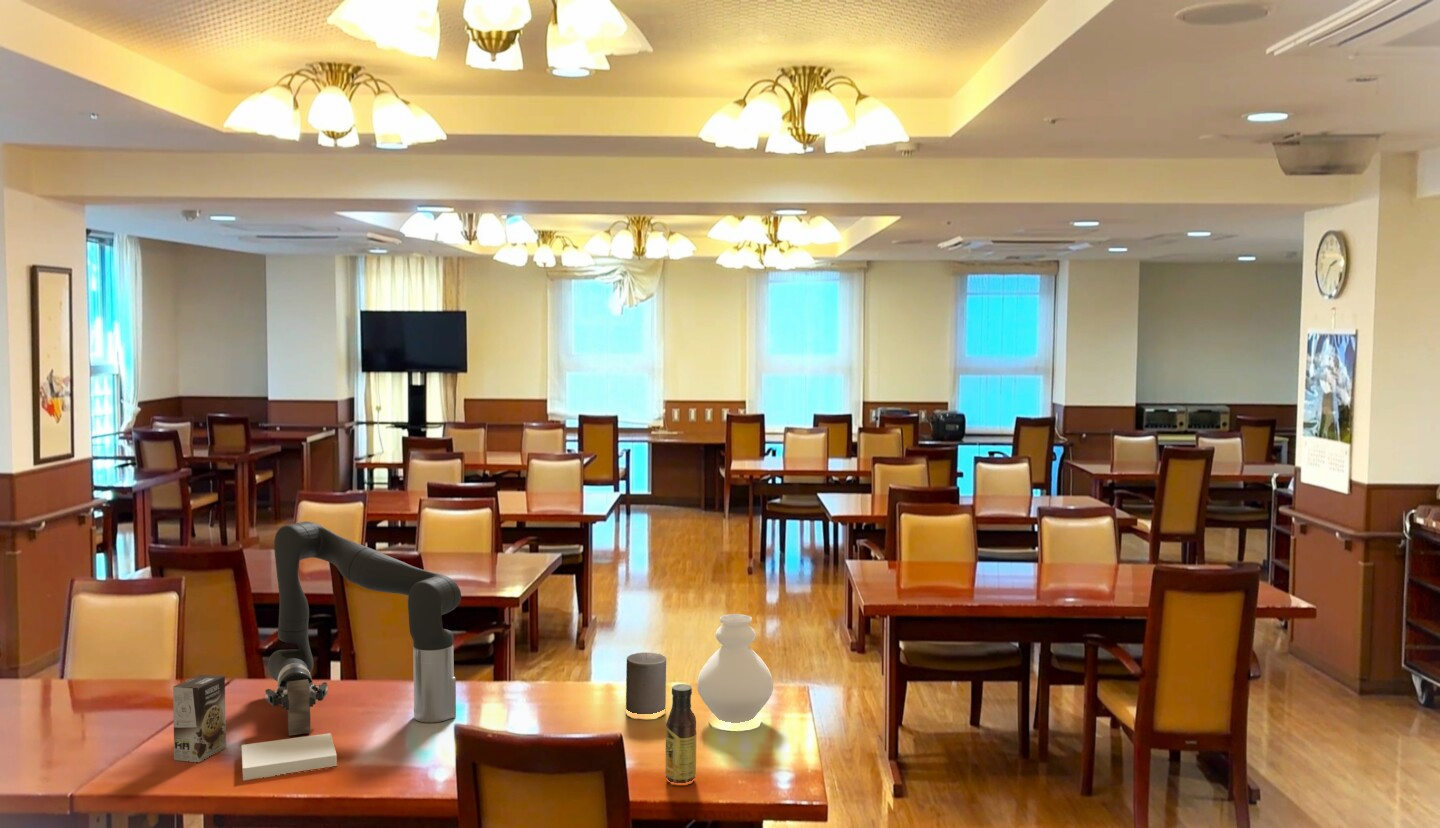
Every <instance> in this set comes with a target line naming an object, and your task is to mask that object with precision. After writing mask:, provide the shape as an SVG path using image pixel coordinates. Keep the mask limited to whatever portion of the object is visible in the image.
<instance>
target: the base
mask: <svg viewBox="0 0 1440 828" xmlns="http://www.w3.org/2000/svg"><path fill="white" fill-rule="evenodd" d="M337 757H338V755H337V751H336V748H335V745H334V739H333V737H332V733H331V732H329V733H322V734H314V735H307V736H306V735H305V736H299V737H292V738H285V739H284V738H283V739H276V740H269V741H260V742H253V743H248V744H241V765H242V766H241V767H242V781H249V780H256V779H262V778H263V777H264V778H270V777H276V776H275V775H277V776H281V775H280V774H284V775H287V774H286V773H291V772H298V771H303V770H310V769H317V768H324V767H332V766H337V767H338V762H337V761H338V760H337V759H338V758H337ZM332 768H333V767H332ZM298 773H299V772H298ZM291 774H292V773H291Z"/></svg>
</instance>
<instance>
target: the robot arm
mask: <svg viewBox="0 0 1440 828" xmlns="http://www.w3.org/2000/svg"><path fill="white" fill-rule="evenodd" d="M273 543H274V545H273V546H274V547H273V548H274V551H273V552H274V560H275V567H276V568H275V569H276V578H277V586H278V594H279V596H278V597H279V599H278V600H279V606H278V607H279V608H278V609H279V610H278V627H277V637H278V639H279V640H280V641H281V642H283V643H288V644H293V645H296V646H297V647H298V648H297V649H296V648H295V649H294V648H293V649H279V650H276V651H274V652H273V653H272V654H271V655H270V656H269V659H268V662H267V669H268V671H269V672H268V673H269V674H270V676H271V678H272V679H273V680H275V681H276V682H277V690H275V689H271V688H267V689H265V690H264V691H265V702H267V703H268V704H270V705H271V706H272V707H278V706H279V705H281V706H280V707H281V708H282V709H285V711H288V710H289V700H288V696H287V682H289V681H298V680H306V679H308V681H309V685H310V708H313V707H314V705H316V704H317V701H319V702H321V701H324V699H325V697H326V696H327V695H328V682H327V681H324V682H322V683H321V684H319V685H316V684H315V683H314V682H313V678H312V675H311V673H312V671H313V669H314V657H313V654H312V651H311V647H310V646H311V645H310V641H309V619H310V608H309V603H308V598H307V597H306V595H305V593H304V590H303V587H302V586H301V583H300V577H299V568H300V562H301V560H305V559H310V558H312V559H313V558H314V559H319V560H323V561H325V562H327V563H328V562H329V563H330V564H333V565H334V566H335V567H336V568H337V570H338V571H339V573H340V574H341V576H343V578H344V579H345V580H347V581H348V582H351V584H354V585H357V586H359V587H362V588H364V589H367V590H370V591H374V592H381V593H387V594H388V593H389V594H397V595H398V594H400V595H405V596H408V597H407V598H408V599H407V610H408V611H407V613H408V623H409V624H408V626H409V627H408V628H409V634H410V636H411V639H412V645H413V646H412V647H413V648H412V649H413V652H412V653H413V658H412V659H413V662H412V663H413V718H414V720H416V721H417V722H420V723H421V722H422V723H439V722H444V721H447V720H450V719H454V718H456V717H457V689H456V688H457V686H456V684H457V683H456V682H457V681H456V680H457V679H456V676H455V674H454V669H455V667H454V665H455V664H454V661H455V660H454V633H453V632H452V631H451V630H449V629H446V628H444V627H443V619H442V617H443V615H446V614H448V613H451V612H452V611H454V610H455V609H456V608H457V607H458V606H459V604H460V602H461V600H462V592H461V589H460V587H459V585H458V583H456V581H454V579H452V578H451V577H449V576H447V575H444V574H440V573H436V572H433V571H429V570H425V569H422V568H419V567H416V566H413V565H411V564H408V563H406V562H405V561H401V560H399V559H398V558H394V557H392V556H390V555H388V554H385V553H383V552H381V551H378V550H376V549H373V548H371V547H368V546H366V545H362V544H360V543H357V542H355V541H352V540H351V539H348V538H344V537H343V536H340V535H339V534H336V533H335V532H333V531H331V530H330V529H327V528H326V527H324V526H322V525H321V524H319V523H317V522H314V521H301V522H296V523H291V524H285V525H283V526H281V527H280V528H278V530H277V531H276V533H275V536H274V541H273Z"/></svg>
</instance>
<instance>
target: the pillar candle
mask: <svg viewBox="0 0 1440 828" xmlns="http://www.w3.org/2000/svg"><path fill="white" fill-rule="evenodd" d="M625 671H626V672H625V673H626V674H625V675H626V680H625V681H626V683H625V684H626V685H625V687H626V691H625V698H626V699H625V710H626V709H627V710H628V711H630V712H632V713H637V714H653V713H657V712H660V711H662V710H664V709H665V710H666V706H667V705H666V701H667V699H666V697H667V657H666V656H665V655H664V654H661V653H657V652H636V653H632V654H630V655H628V656H627V657H626V670H625Z"/></svg>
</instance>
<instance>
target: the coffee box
mask: <svg viewBox="0 0 1440 828" xmlns="http://www.w3.org/2000/svg"><path fill="white" fill-rule="evenodd" d="M225 677H226V676H224V675H216V674H215V675H214V674H213V675H211V674H198V675H197V676H194V677H193V678H189V679H187V680H185V681H183V682H181V683H178V684H175V685H174V686H172V690H173V691H172V694H173V695H172V697H173V699H172V700H173V702H172V703H173V704H172V705H173V707H172V708H173V713H172V714H173V717H172V718H173V760H174V761H181V762H188V761H189V762H188V763H196V762H198V763H201V762H203V761H205V760H206V759H208V758H210V757H212V756H213V754H214V755H216V754H218V753H219V752H221V751H222V749H223V750H225V749H226V748H227V731H226V729H227V726H226V725H227V724H226V722H227V721H226V719H227V718H226V717H227V716H226V678H225ZM224 748H225V749H224ZM215 753H216V754H215ZM211 755H212V756H211ZM209 756H210V757H209ZM204 759H205V760H204Z"/></svg>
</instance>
